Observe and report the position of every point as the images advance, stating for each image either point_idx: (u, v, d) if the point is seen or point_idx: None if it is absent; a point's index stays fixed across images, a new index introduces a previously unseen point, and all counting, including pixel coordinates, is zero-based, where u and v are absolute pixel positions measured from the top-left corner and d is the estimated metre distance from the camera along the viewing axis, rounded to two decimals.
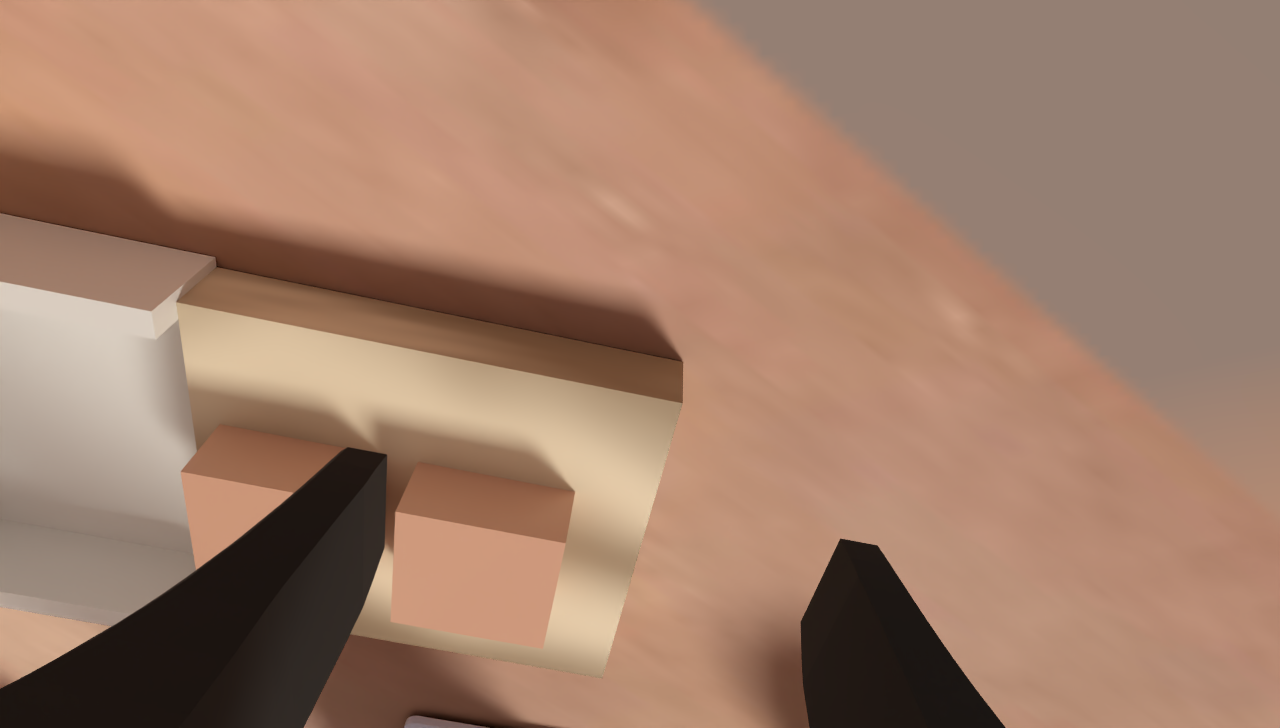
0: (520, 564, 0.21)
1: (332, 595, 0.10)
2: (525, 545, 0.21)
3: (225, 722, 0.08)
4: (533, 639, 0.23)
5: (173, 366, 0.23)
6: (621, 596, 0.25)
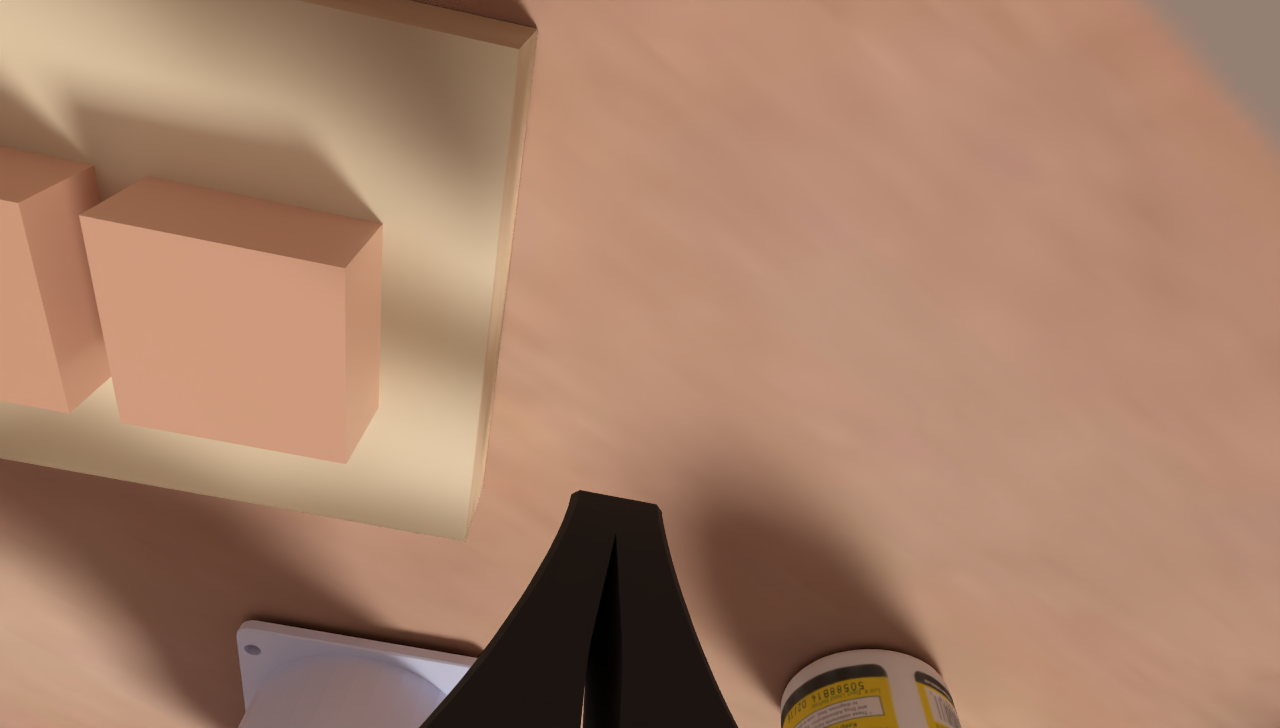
0: (286, 311, 0.14)
1: None
2: (286, 274, 0.14)
3: None
4: (330, 447, 0.16)
5: None
6: (473, 406, 0.18)
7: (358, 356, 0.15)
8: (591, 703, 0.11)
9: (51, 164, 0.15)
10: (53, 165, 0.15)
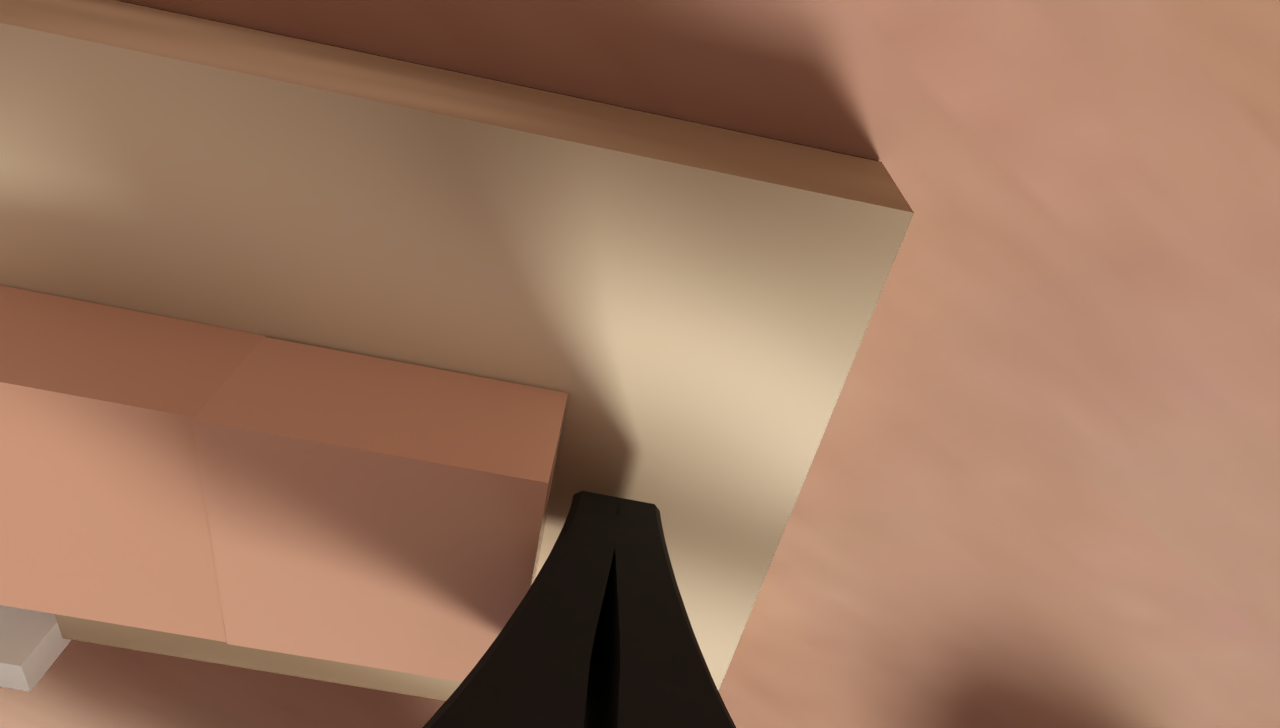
0: (459, 529, 0.11)
1: None
2: (467, 488, 0.10)
3: None
4: None
5: None
6: (744, 607, 0.14)
7: (535, 562, 0.12)
8: (589, 703, 0.11)
9: (215, 339, 0.11)
10: (218, 341, 0.11)
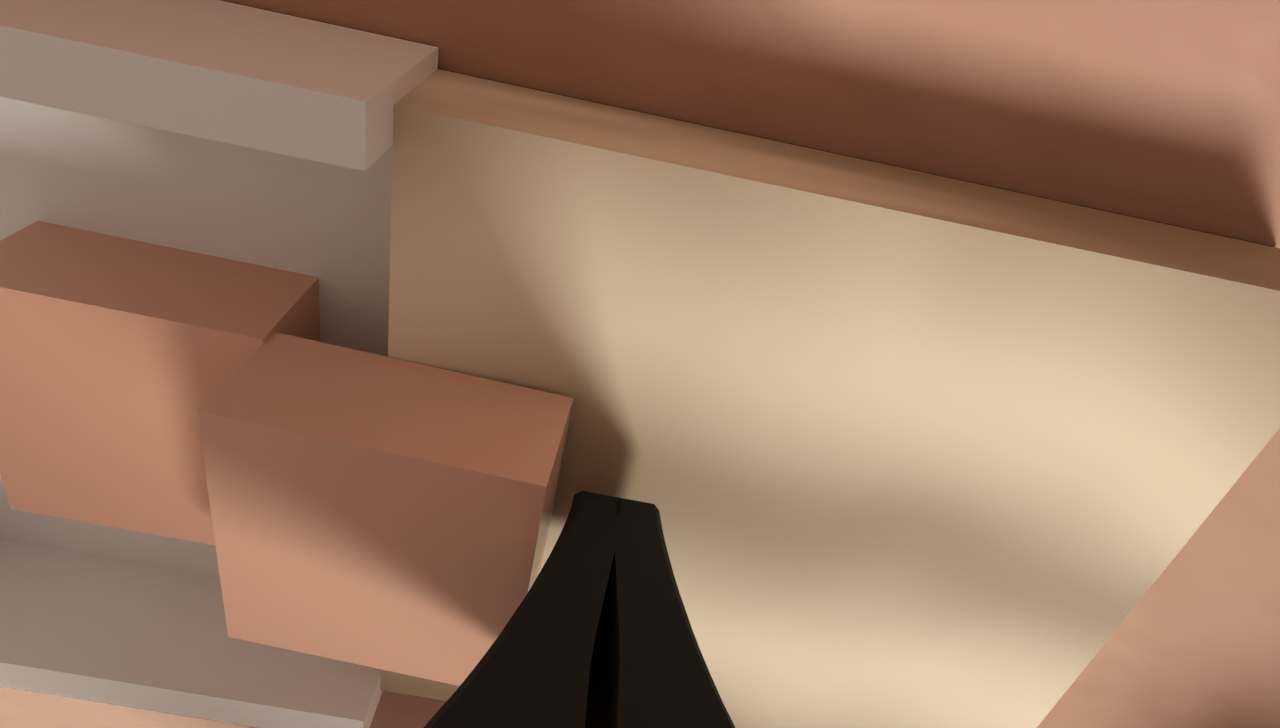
0: (457, 531, 0.11)
1: None
2: (465, 490, 0.10)
3: None
4: None
5: (335, 271, 0.13)
6: (1077, 667, 0.15)
7: (535, 567, 0.12)
8: (589, 703, 0.11)
9: (275, 279, 0.13)
10: (278, 280, 0.13)
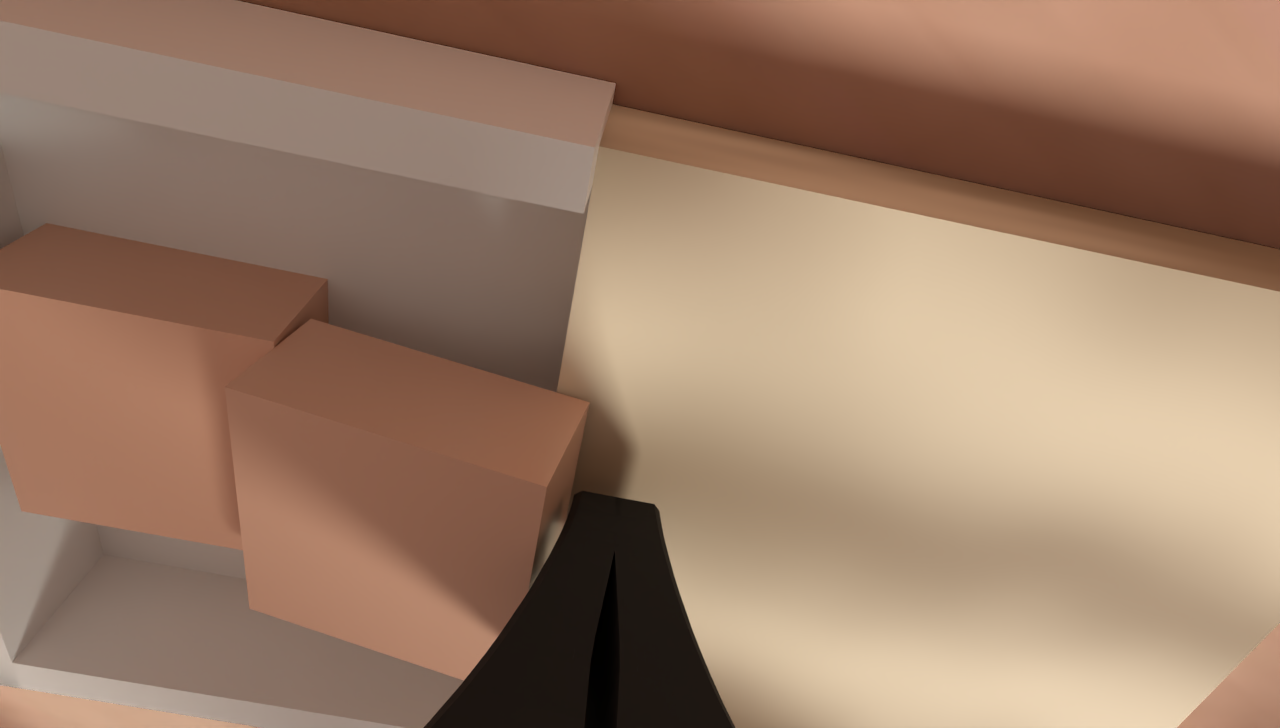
0: (461, 525, 0.11)
1: None
2: (470, 483, 0.10)
3: None
4: None
5: (490, 300, 0.13)
6: (1204, 690, 0.15)
7: None
8: (589, 703, 0.11)
9: (284, 281, 0.13)
10: (287, 282, 0.13)
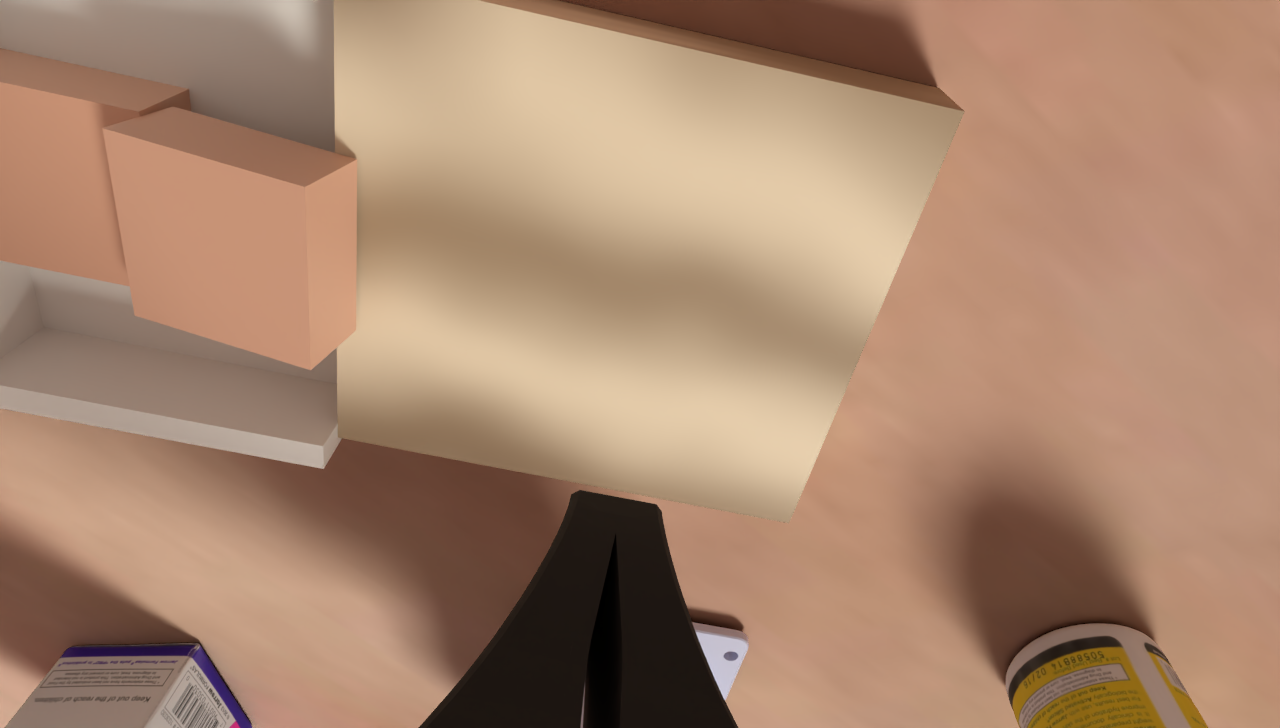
0: (259, 224, 0.16)
1: None
2: (259, 189, 0.16)
3: None
4: (297, 353, 0.18)
5: (302, 104, 0.19)
6: (833, 405, 0.20)
7: (326, 274, 0.18)
8: (591, 703, 0.11)
9: (156, 87, 0.18)
10: (158, 87, 0.18)
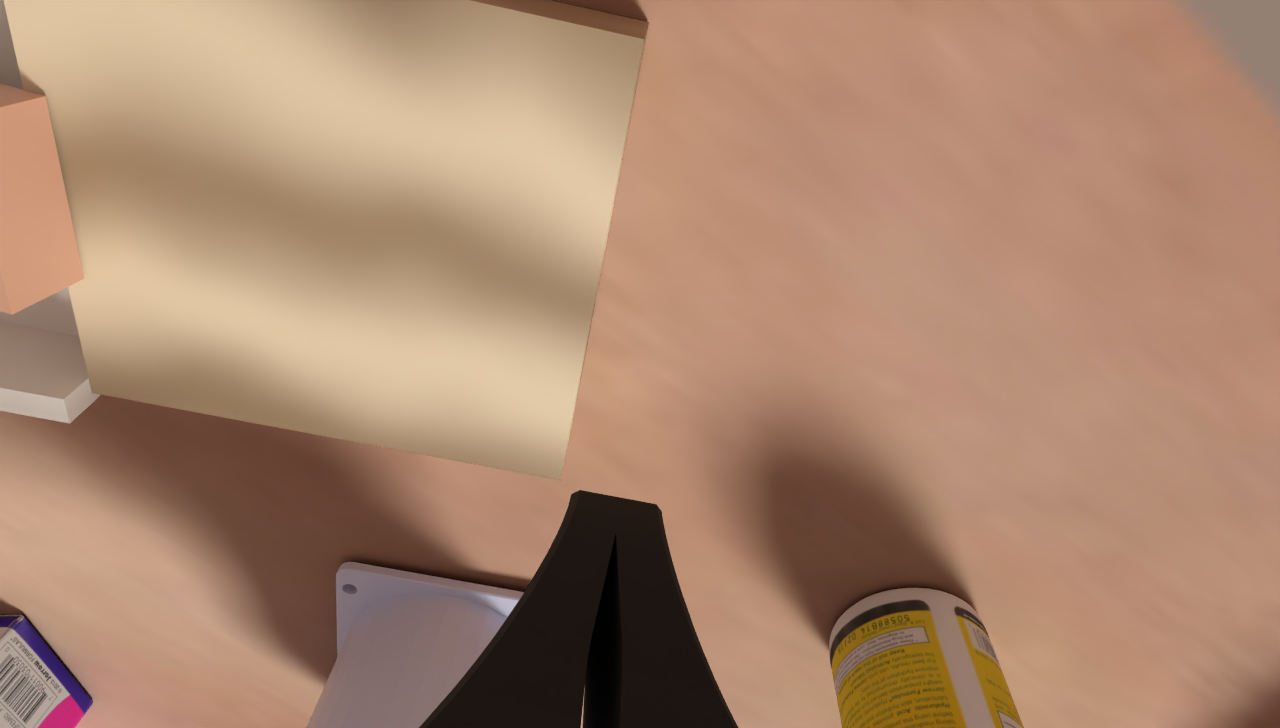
0: None
1: None
2: None
3: None
4: None
5: (10, 44, 0.18)
6: (578, 355, 0.20)
7: (17, 214, 0.17)
8: (591, 703, 0.11)
9: None
10: None
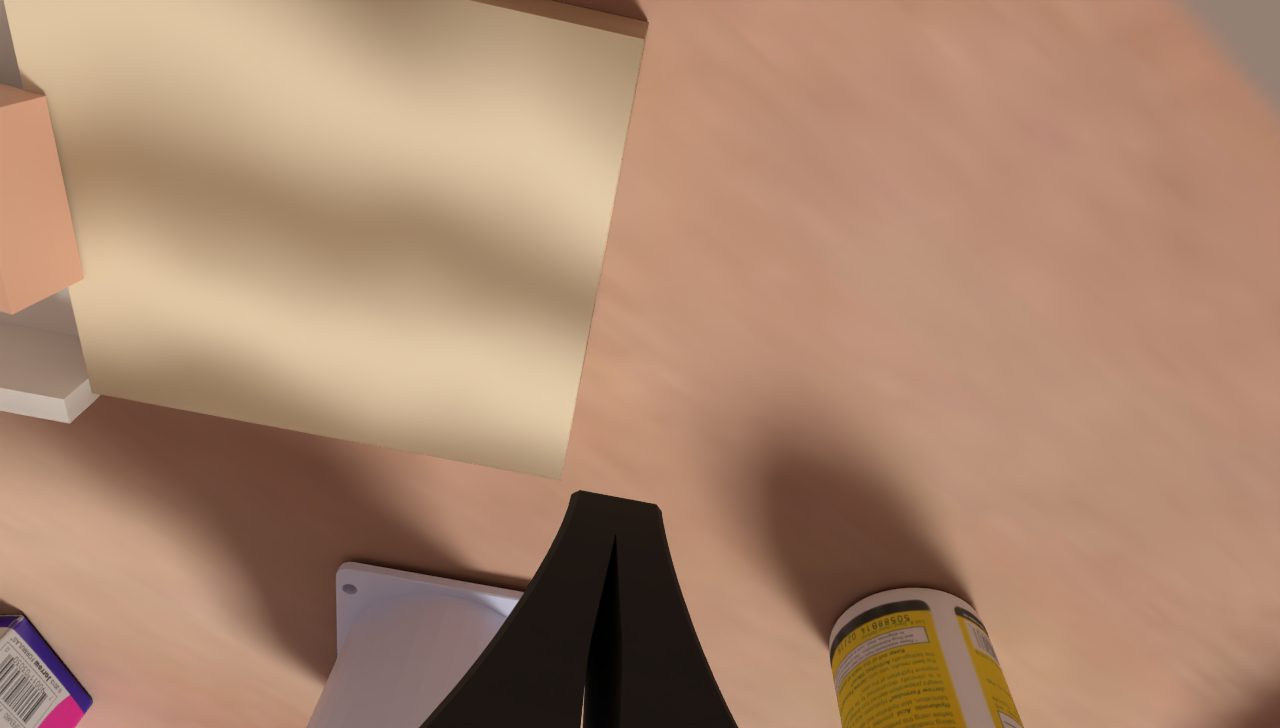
0: None
1: None
2: None
3: None
4: None
5: (10, 44, 0.18)
6: (578, 355, 0.20)
7: (17, 214, 0.17)
8: (591, 703, 0.11)
9: None
10: None
